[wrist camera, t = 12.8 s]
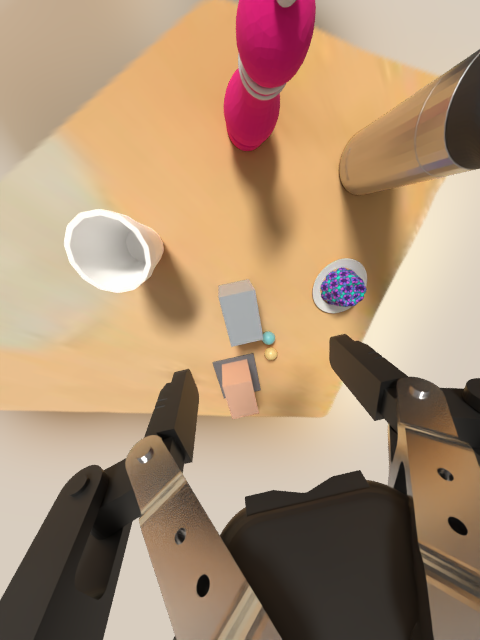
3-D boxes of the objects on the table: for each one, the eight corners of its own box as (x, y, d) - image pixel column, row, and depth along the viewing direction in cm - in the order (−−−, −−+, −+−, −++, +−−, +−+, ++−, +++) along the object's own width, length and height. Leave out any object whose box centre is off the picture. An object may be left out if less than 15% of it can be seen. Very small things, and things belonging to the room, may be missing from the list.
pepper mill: (271, 91, 28) (366, -149, 10) (269, 155, 31) (340, 57, 13) (221, 91, 28) (227, -165, 10) (224, 155, 31) (234, 53, 13)
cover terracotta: (246, 358, 47) (251, 380, 41) (253, 388, 52) (258, 413, 45) (221, 364, 47) (222, 387, 41) (230, 394, 52) (232, 419, 45)
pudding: (370, 255, 40) (390, 259, 36) (358, 309, 45) (375, 318, 41) (313, 260, 40) (326, 264, 35) (308, 314, 45) (319, 324, 40)
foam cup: (182, 259, 37) (165, 275, 25) (139, 280, 37) (103, 304, 26) (152, 205, 33) (116, 193, 21) (105, 229, 33) (44, 231, 22)
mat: (253, 353, 47) (253, 354, 47) (260, 389, 53) (260, 390, 52) (212, 362, 47) (212, 363, 47) (224, 397, 52) (224, 398, 52)
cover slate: (248, 279, 39) (254, 289, 33) (256, 322, 44) (263, 339, 37) (218, 285, 39) (218, 297, 33) (229, 328, 44) (231, 346, 37)
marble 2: (274, 343, 47) (278, 350, 44) (276, 353, 48) (279, 361, 45) (262, 346, 47) (265, 353, 44) (264, 356, 48) (266, 364, 45)
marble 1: (272, 327, 45) (275, 334, 42) (273, 338, 46) (277, 345, 43) (259, 330, 45) (262, 337, 42) (261, 341, 46) (264, 348, 43)
